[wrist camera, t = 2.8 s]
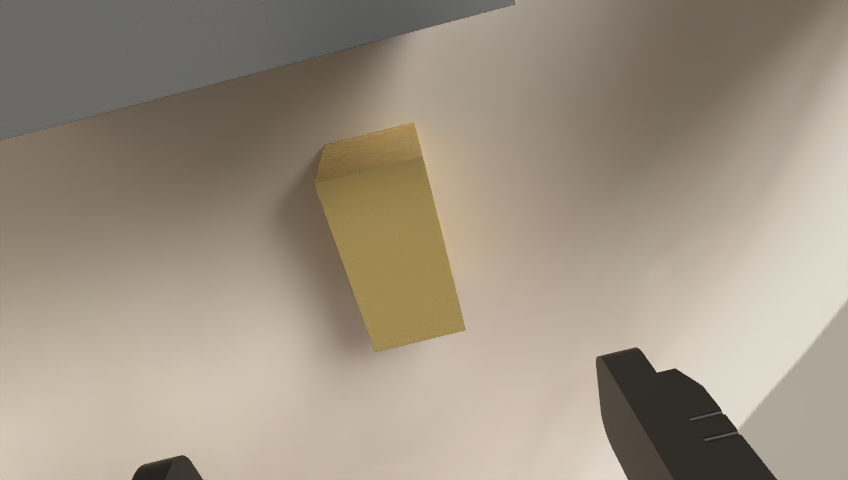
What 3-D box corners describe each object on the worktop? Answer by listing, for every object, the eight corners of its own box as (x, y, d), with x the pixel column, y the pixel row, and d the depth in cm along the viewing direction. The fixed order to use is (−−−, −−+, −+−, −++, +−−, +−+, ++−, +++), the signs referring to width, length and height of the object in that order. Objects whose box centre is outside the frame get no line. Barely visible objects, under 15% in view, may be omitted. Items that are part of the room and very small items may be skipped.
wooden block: (413, 120, 17) (422, 156, 14) (451, 273, 20) (465, 330, 17) (324, 144, 17) (313, 183, 14) (374, 291, 20) (374, 352, 17)
